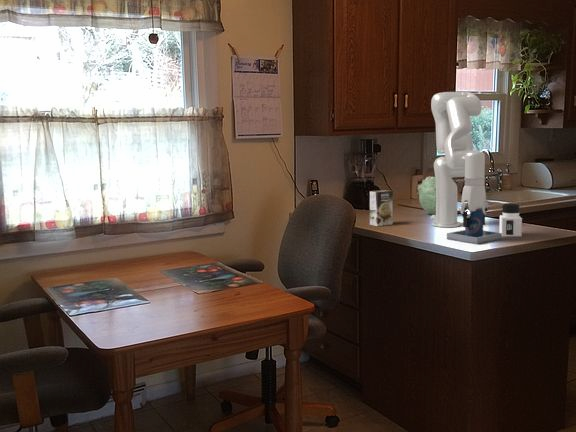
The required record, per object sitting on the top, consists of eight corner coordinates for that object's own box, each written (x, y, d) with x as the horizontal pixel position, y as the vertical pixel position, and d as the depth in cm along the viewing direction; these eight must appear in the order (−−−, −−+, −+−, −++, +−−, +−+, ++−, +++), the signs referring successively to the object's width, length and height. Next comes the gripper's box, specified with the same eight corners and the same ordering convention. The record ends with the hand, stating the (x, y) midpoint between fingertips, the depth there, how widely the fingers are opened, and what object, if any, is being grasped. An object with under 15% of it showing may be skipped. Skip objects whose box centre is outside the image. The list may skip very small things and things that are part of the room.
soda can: (464, 238, 246) (464, 209, 244) (465, 235, 252) (466, 206, 251) (482, 239, 243) (482, 209, 242) (483, 236, 250) (484, 207, 248)
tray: (446, 239, 250) (446, 233, 249) (471, 234, 258) (471, 228, 258) (477, 244, 237) (477, 238, 237) (501, 239, 246) (501, 233, 245)
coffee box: (377, 226, 286) (377, 192, 283) (369, 224, 291) (368, 190, 289) (393, 224, 290) (393, 190, 287) (385, 222, 295) (384, 189, 293)
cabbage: (454, 217, 304) (454, 177, 301) (415, 216, 310) (415, 177, 307) (456, 213, 318) (457, 174, 315) (419, 212, 325) (419, 174, 322)
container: (521, 236, 250) (522, 204, 248) (501, 236, 251) (502, 205, 250) (518, 233, 257) (519, 202, 255) (499, 233, 259) (499, 202, 257)
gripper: (480, 180, 252) (480, 222, 255) (452, 183, 243) (452, 227, 245) (496, 181, 246) (495, 224, 249) (467, 185, 236) (467, 229, 239)
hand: (474, 225), depth 247 cm, fingers open, 8 cm apart
